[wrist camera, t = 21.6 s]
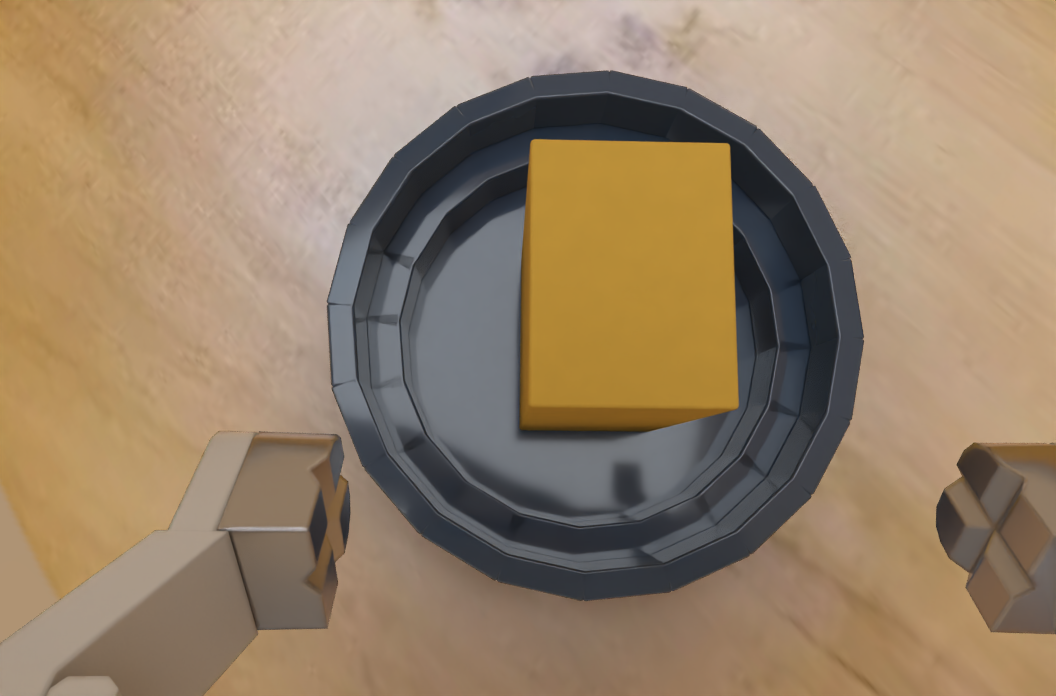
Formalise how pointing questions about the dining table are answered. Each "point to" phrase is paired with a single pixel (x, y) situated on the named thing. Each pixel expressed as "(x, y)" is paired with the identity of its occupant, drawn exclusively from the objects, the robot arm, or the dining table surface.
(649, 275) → the yellow rectangular block
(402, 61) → the dining table surface
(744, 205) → the bowl
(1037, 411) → the dining table surface
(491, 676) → the dining table surface
